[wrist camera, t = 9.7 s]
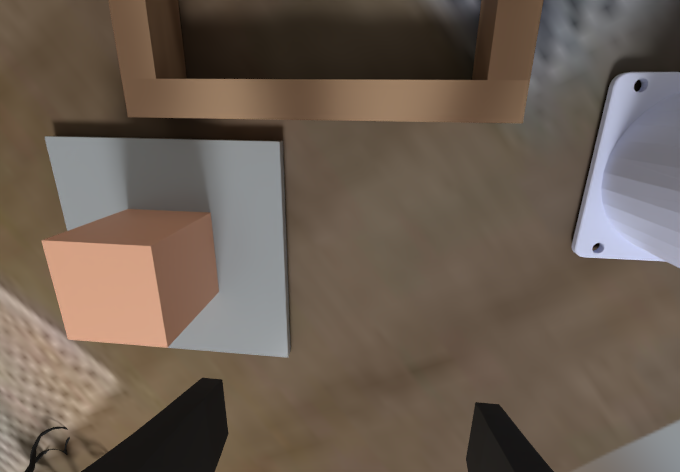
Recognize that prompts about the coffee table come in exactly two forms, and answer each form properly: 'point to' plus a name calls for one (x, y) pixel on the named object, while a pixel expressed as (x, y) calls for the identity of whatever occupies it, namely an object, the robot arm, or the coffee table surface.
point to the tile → (197, 196)
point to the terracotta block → (134, 275)
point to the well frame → (325, 94)
